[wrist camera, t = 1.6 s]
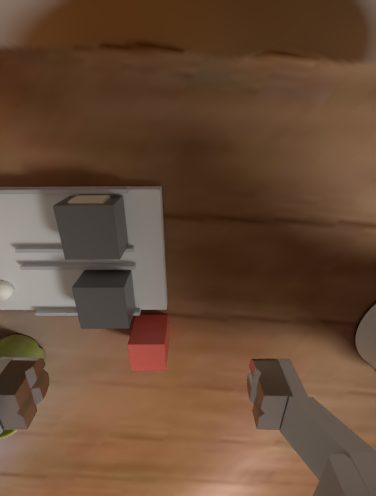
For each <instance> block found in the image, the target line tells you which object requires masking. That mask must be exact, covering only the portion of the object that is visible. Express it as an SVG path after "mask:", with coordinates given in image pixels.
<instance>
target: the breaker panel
mask: <svg viewBox="0 0 376 496" xmlns="http://www.w3.org/2000/svg"><path fill="white" fill-rule="evenodd" d="M77 195H110V196H123V200H124V209H125V218H126V227H127V236H128V246H127V248H126V250H125V252H124V253H123V255H122V257H121V259H120V260H65V257H64V253H63V248H62V244H61V240H60V235H59V231H58V227H57V222H56V218H55V214H54V209H53V205H55V204H56V203H58V202H60V201H62V200H64V199H65V198H67V197H69V196H77ZM84 270H131V271H132V280H133V289H134V298H135V307H136V308H135V312H134V315H133V316H140V313H141V310H166V309H167V282H166V261H165V241H164V220H163V200H162V186H87V187H0V310H36V312H35V316H78V313H77V309H76V305H75V300H74V296H73V292H72V286H73V285H74V284H75V282H76V281H77V280H78V278H79V277H80V276H81V274H82V273H83V272H84Z"/></svg>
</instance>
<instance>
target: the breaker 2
mask: <svg viewBox="0 0 376 496" xmlns="http://www.w3.org/2000/svg"><path fill="white" fill-rule="evenodd" d="M72 292H73V296H74V300H75V305H76V309H77V313H78V318H79V322H80V326H81V329H129V328H130V325H131V321H132V318H133V315H134V312H135V308H136V307H135V298H134V289H133V280H132V271H131V270H84V272H83V273H82V274H81V276H80V277H79V278H78V280H77V281H76V282H75V284H74V285H73V286H72Z"/></svg>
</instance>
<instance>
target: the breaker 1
mask: <svg viewBox="0 0 376 496" xmlns="http://www.w3.org/2000/svg"><path fill="white" fill-rule="evenodd" d="M53 209H54V214H55V218H56V222H57V227H58V231H59V235H60V240H61V244H62V248H63V253H64V257H65V260H120V259H121V257H122V255H123V253H124V252H125V250H126V248H127V246H128V236H127V227H126V218H125V209H124V200H123V196H110V195H77V196H69V197H67V198H65V199H64V200H62V201H60V202H58V203H56V204H55V205H53Z"/></svg>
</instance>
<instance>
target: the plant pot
mask: <svg viewBox="0 0 376 496" xmlns="http://www.w3.org/2000/svg"><path fill="white" fill-rule="evenodd" d="M1 357H23V358H43V359H44V357H45V355H44V350H43V349H41V348H40V347H39V346H38V344H37V342H36V341H35V340H33V339H32V338H30V337H27V336H24V335H17V334H14V335H10V336H7V337H5V338H2V339H1V340H0V358H1ZM16 431H17V430H3V432H2V433H1V434H0V439H3V438H7V437H9V436H11V435H12V434H14V433H15V432H16Z"/></svg>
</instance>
